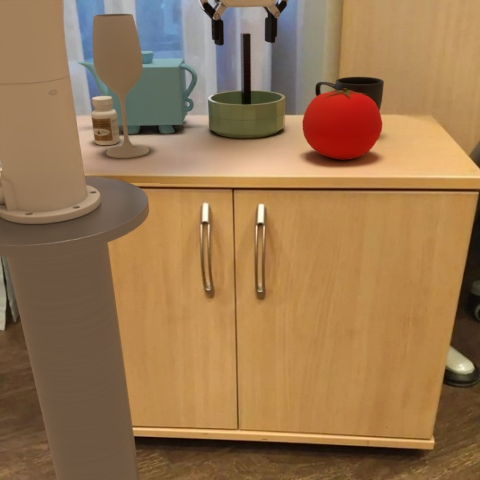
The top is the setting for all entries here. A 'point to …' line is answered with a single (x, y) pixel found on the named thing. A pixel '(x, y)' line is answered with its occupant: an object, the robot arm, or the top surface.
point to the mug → (358, 87)
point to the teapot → (153, 94)
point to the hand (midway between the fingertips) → (244, 43)
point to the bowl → (246, 114)
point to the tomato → (342, 124)
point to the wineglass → (118, 67)
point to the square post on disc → (245, 68)
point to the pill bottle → (104, 121)
